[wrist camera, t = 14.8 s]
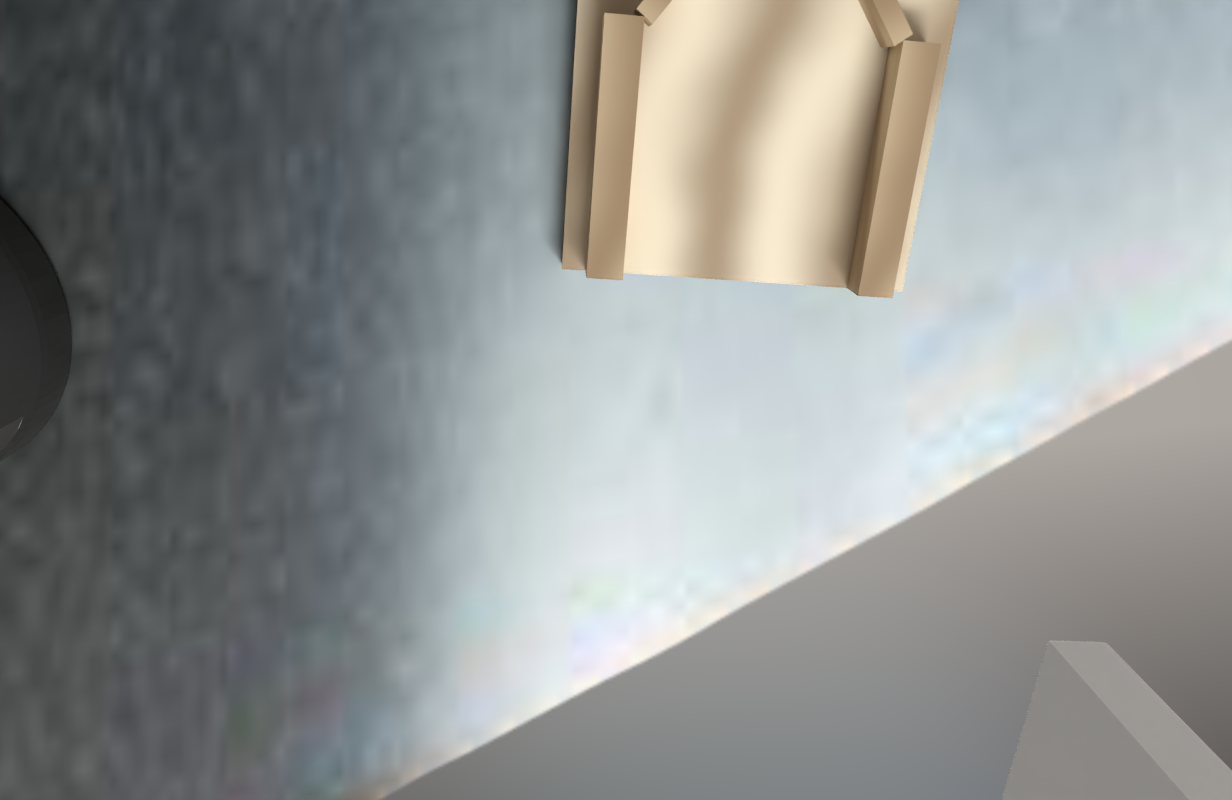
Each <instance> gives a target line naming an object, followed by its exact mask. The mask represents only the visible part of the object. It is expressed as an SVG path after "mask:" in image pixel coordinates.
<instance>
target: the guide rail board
mask: <svg viewBox="0 0 1232 800" xmlns="http://www.w3.org/2000/svg"><path fill="white" fill-rule="evenodd" d="M958 4H959V0H577V17H576V34H575V51H574V68H573V86H572V103H571V120H570V137H569V154H568V171H567V188H566V205H565V222H564V239H563V256H562V269H571V270H585V271H586V278H597V279H612V280H623V273H631V274H646V275H661V276H676V277H691V278H706V279H721V280H736V281H751V282H766V283H781V284H796V285H811V286H826V287H841V288H848V289H849V290H851V291H852V292H854V293H855V294H856V295H858V296H869V297H884V298H893V293H894V291H901V292H902V290H903V285H904V280H905V274H906V269H907V264H908V259H909V254H910V249H911V244H912V239H913V234H914V229H915V223H916V218H917V213H918V208H919V203H920V198H921V193H922V188H923V183H924V177H925V172H926V167H927V162H928V157H929V152H930V147H931V142H932V137H933V131H934V126H935V121H936V116H937V111H938V106H939V101H940V96H941V91H942V86H943V80H944V75H945V70H946V65H947V60H948V55H949V50H950V45H951V40H952V34H953V29H954V24H955V19H956V14H957V9H958Z"/></svg>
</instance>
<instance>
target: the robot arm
mask: <svg viewBox="0 0 1232 800" xmlns="http://www.w3.org/2000/svg"><path fill="white" fill-rule="evenodd" d="M71 351H72V345H71V329H70V321H69V316H68V311H67V307H66V303H65V299H64V296H63V293H62V290H61V287H60V285H59V282H58V280H57V278H56V275H55V273H54V271H53V269H52V267H51V265H50V263H49V261H48V259H47V257H46V256H45V254H44V252H43V251H42V249H41V247H40V246H39V244H38V243H37V241H36V240H35V238H34V237H33V236H32V234H31V233H30V232H29V230H28V229H27V228H26V226H25V225H24V224H23V223H22V221H21V220H20V219H19V218H18V217H17V216H16V215H15V214H14V212H13V211H12V210H11V209H10V208H9V207H8V206H7V205H6V204H5V203H4V202H3V201H2V200H1V199H0V462H1V461H2V460H4V459H5V458H7V457H8V456H10V455H11V454H13V453H14V452H16V451H17V450H19V449H20V448H22V447H23V446H24V445H25V444H27V443H28V442H29V441H30V440H31V439H32V438H33V437H34V436H36V435H37V434H38V433H39V431H40V430H41V429H42V428H43V427H44V426H45V424H46V423H47V422H48V420H49V419H50V417H51V416H52V415H53V413H54V411H55V409H56V408H57V406H58V404H59V402H60V399H61V397H62V395H63V392H64V389H65V386H66V383H67V379H68V375H69V370H70V363H71ZM1002 800H1232V771H1231V770H1230V768H1229V767H1228V766H1226V765H1225V764H1224V762H1223V761H1222V760H1221V759H1220V758H1219V757H1218V756H1217V755H1215V753H1214V752H1213V751H1212V750H1211V749H1210V748H1209V747H1208V746H1207V745H1206V744H1205V743H1204V742H1203V741H1202V740H1201V739H1200V738H1199V737H1198V736H1197V735H1196V734H1195V733H1194V732H1193V731H1192V730H1191V729H1190V728H1189V727H1188V726H1187V725H1186V724H1185V723H1184V722H1183V721H1182V719H1181V718H1180V717H1178V715H1176V713H1175V712H1174V711H1173V710H1172V709H1171V708H1170V707H1169V706H1168V705H1167V704H1166V703H1165V702H1164V701H1163V700H1162V699H1161V698H1160V697H1159V696H1158V695H1157V694H1156V693H1155V692H1154V691H1153V690H1152V689H1151V688H1150V687H1149V686H1148V685H1147V684H1146V683H1145V682H1144V681H1143V680H1142V679H1141V678H1140V677H1139V676H1138V675H1137V673H1136V672H1134V670H1133V669H1132V668H1130V666H1129V665H1128V664H1127V663H1126V662H1125V661H1124V660H1123V659H1122V658H1121V657H1120V656H1119V655H1118V654H1117V653H1116V652H1115V651H1114V650H1113V649H1112V648H1111V647H1110V646H1109V645H1108V644H1107V643H1106V642H1081V641H1051V640H1049V641H1048V645H1047V648H1046V651H1045V655H1044V658H1043V661H1042V665H1041V668H1040V672H1039V675H1038V678H1037V682H1036V685H1035V689H1034V692H1033V695H1032V699H1031V702H1030V705H1029V709H1028V712H1027V716H1026V719H1025V722H1024V726H1023V729H1022V732H1021V736H1020V739H1019V742H1018V746H1017V749H1016V753H1015V756H1014V759H1013V763H1012V766H1011V769H1010V773H1009V776H1008V780H1007V783H1006V786H1005V790H1004V793H1003V796H1002Z"/></svg>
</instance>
